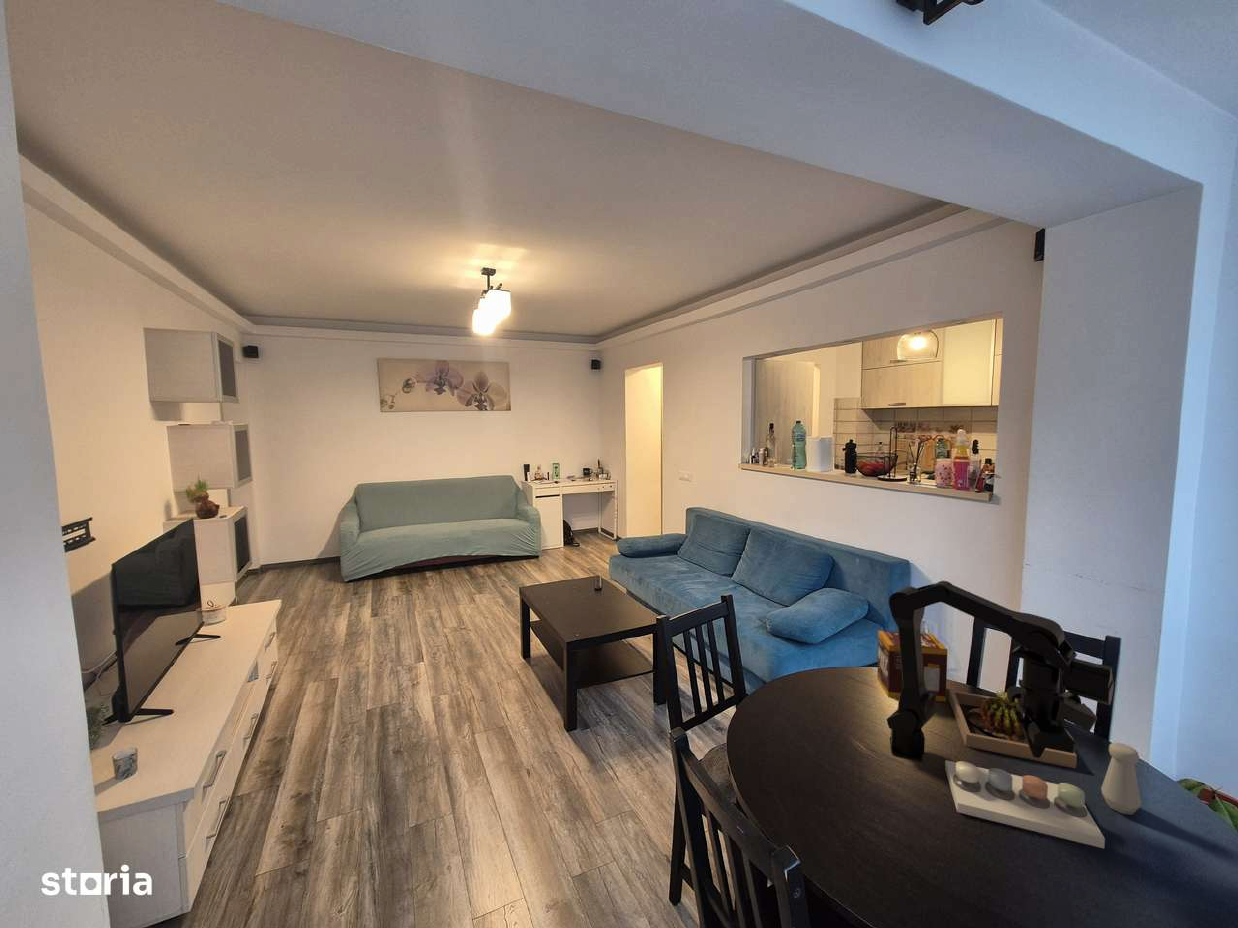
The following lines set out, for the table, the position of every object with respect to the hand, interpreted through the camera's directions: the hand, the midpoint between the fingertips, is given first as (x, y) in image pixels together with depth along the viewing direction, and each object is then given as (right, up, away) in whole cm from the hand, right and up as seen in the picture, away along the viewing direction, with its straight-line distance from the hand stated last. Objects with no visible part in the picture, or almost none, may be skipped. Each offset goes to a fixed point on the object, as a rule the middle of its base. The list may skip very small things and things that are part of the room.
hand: (1036, 756), depth 103 cm
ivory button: (-10, -7, +5) cm, 14 cm away
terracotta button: (0, -8, +1) cm, 8 cm away
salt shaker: (+18, -11, +1) cm, 21 cm away
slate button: (-5, -7, +3) cm, 9 cm away
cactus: (+15, -9, +27) cm, 33 cm away
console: (-2, -11, +2) cm, 12 cm away
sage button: (+5, -8, -2) cm, 10 cm away
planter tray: (+14, -9, +26) cm, 31 cm away
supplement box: (+1, -7, +46) cm, 47 cm away
